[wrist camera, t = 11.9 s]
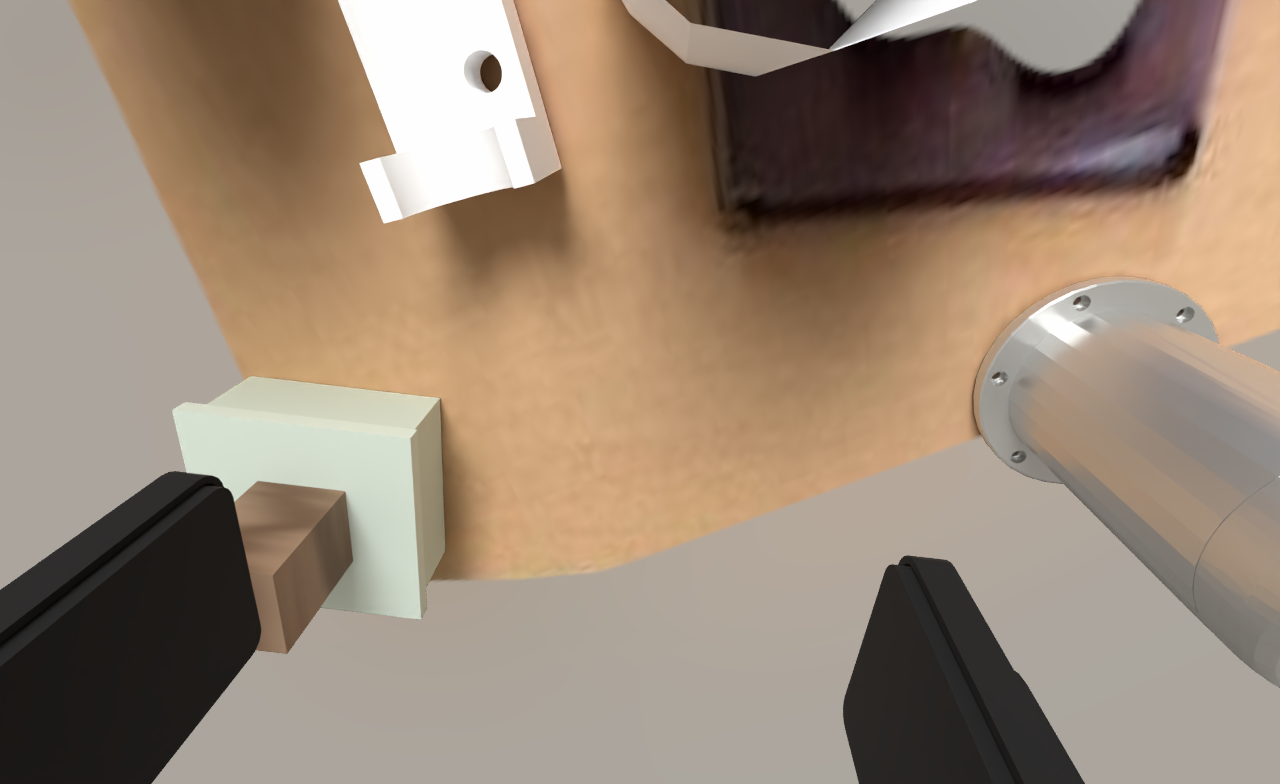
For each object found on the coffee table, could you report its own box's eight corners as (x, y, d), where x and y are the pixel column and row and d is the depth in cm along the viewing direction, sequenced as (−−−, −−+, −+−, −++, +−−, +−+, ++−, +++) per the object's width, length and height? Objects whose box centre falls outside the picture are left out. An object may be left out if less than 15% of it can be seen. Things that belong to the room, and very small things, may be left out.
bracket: (564, 166, 34) (534, 183, 27) (442, 199, 35) (383, 223, 28) (480, -128, 29) (416, -200, 22) (341, -79, 30) (238, -132, 23)
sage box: (447, 391, 39) (410, 438, 34) (452, 557, 45) (421, 619, 40) (241, 367, 40) (172, 410, 34) (271, 535, 45) (215, 594, 40)
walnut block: (345, 491, 36) (272, 575, 29) (353, 561, 38) (287, 653, 32) (257, 480, 36) (166, 562, 29) (270, 551, 38) (188, 641, 32)
